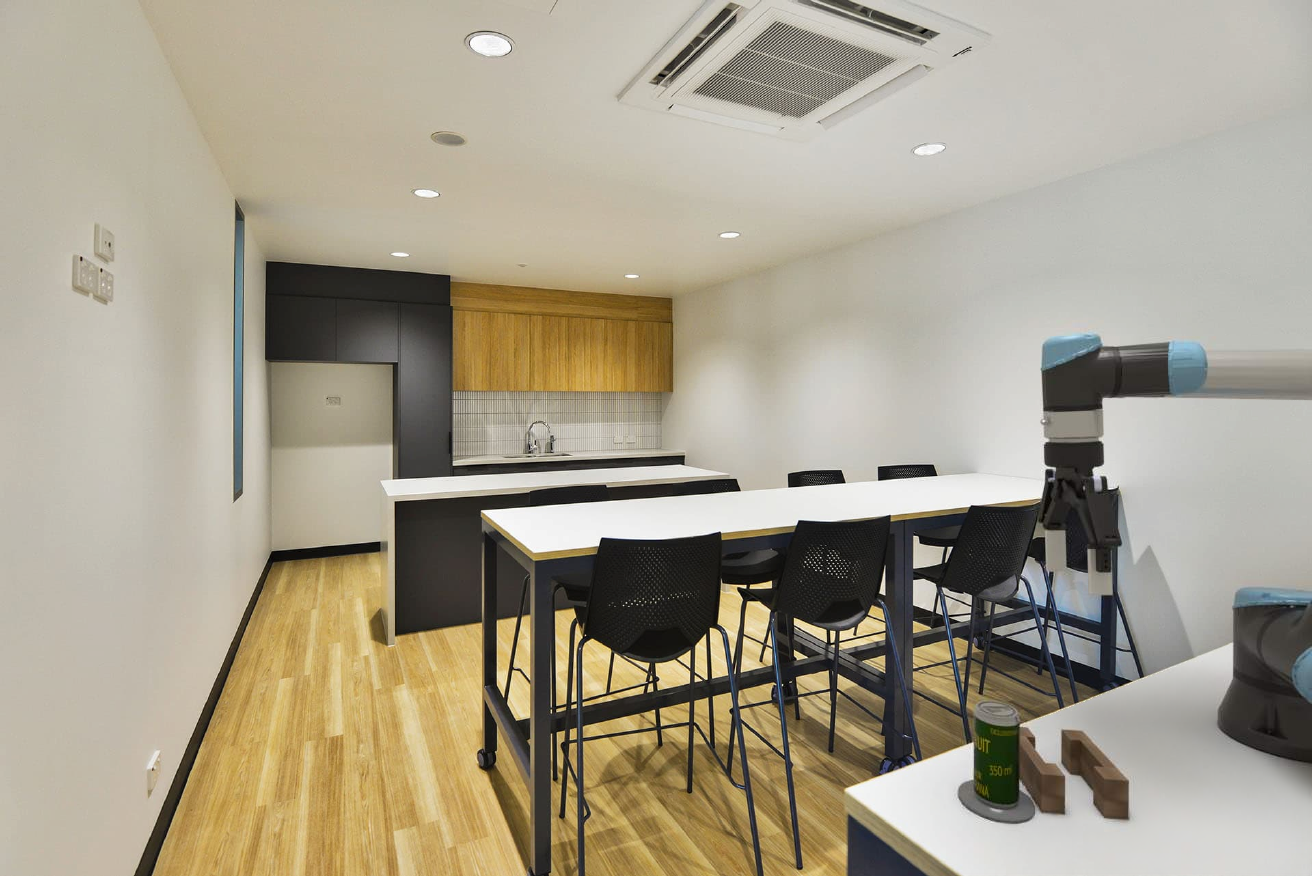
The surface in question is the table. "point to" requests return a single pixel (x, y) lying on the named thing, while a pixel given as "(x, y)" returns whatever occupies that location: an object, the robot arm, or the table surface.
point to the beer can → (996, 754)
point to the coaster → (1013, 815)
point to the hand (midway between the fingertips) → (1076, 582)
